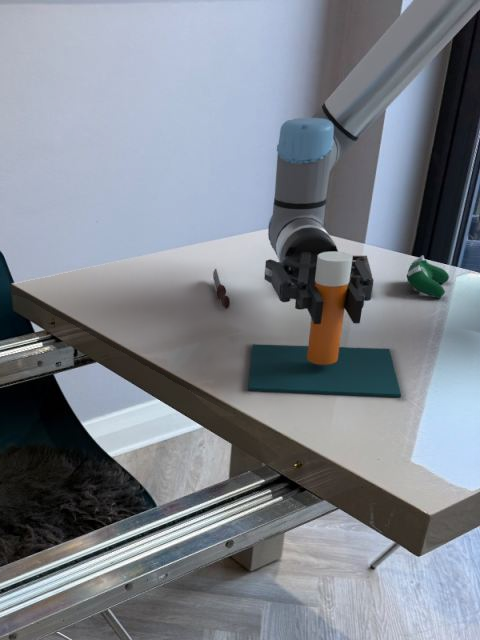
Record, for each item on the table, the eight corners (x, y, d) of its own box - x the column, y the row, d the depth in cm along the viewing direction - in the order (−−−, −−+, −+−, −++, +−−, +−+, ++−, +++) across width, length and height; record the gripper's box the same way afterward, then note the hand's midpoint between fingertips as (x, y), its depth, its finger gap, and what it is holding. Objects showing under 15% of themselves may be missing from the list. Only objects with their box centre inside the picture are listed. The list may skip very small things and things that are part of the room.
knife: (208, 279, 133) (209, 261, 132) (217, 278, 133) (218, 261, 131) (221, 317, 118) (222, 298, 116) (231, 317, 118) (232, 298, 116)
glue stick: (337, 353, 101) (351, 251, 94) (339, 365, 98) (353, 261, 91) (305, 352, 102) (317, 251, 95) (306, 364, 99) (318, 261, 92)
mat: (388, 351, 105) (389, 348, 105) (400, 397, 94) (401, 394, 93) (252, 346, 108) (252, 344, 108) (247, 390, 97) (248, 387, 97)
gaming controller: (430, 291, 128) (407, 263, 128) (451, 276, 126) (428, 247, 125) (424, 310, 122) (400, 280, 121) (446, 294, 119) (421, 264, 118)
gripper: (363, 278, 112) (407, 341, 92) (244, 281, 113) (262, 344, 94) (371, 224, 108) (419, 278, 88) (247, 228, 109) (267, 282, 90)
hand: (338, 312), depth 91 cm, fingers closed on glue stick, 4 cm apart
